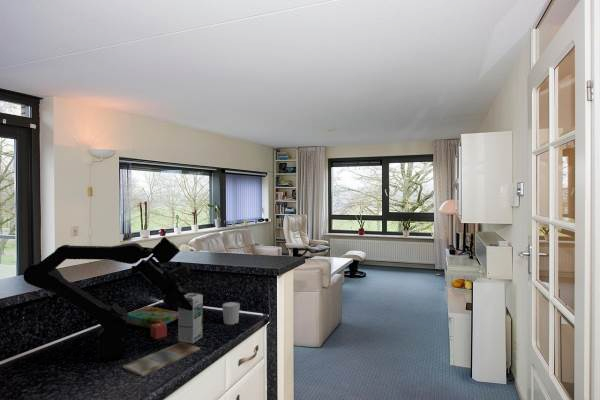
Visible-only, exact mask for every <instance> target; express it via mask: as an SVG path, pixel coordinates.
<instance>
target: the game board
mask: <svg viewBox="0 0 600 400" xmlns="http://www.w3.org/2000/svg"><path fill="white" fill-rule="evenodd" d="M199 350H201V347H200V346H199V347H198V346H196V345H192V344H191V343H190V344H189V343H187V342H181V341H178V342H177V343H175V344H173V345H170V346H167V347H165V348H162V349H160V350H159V351H156V352H153V353H151V354H149V355H145V356H143V357H142V358H139V359H136V360H134V361H131V362H129V363H127V364H124V365H123V366H122V368H123V369H124V370H127V371H129V372H132V373H134V374H136V375H139V376H141V377H145V376H146V375H149V374H152V373H153V372H155V371H157V370H159V369H162V368H163V367H166V366H168V365H170V364H172V363H174V362H177V361H178V360H182V359H183V358H185V357H187V356H189V355H192V354H194V353H196V352H198V351H199Z"/></svg>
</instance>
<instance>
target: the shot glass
mask: <svg viewBox="0 0 600 400" xmlns="http://www.w3.org/2000/svg"><path fill="white" fill-rule="evenodd" d="M221 306H222V317H223V324H225V325H235V323H236V324H238V323H239V319H240V318H239V316H240V306H241V303H240V302H236V301H229V302H223V303H222V305H221Z"/></svg>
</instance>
